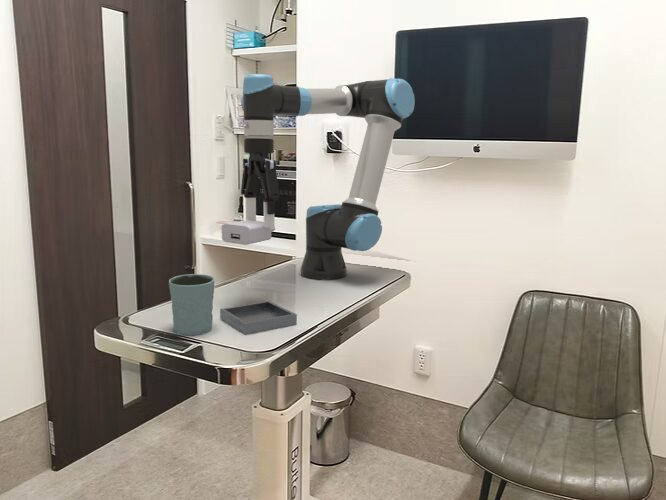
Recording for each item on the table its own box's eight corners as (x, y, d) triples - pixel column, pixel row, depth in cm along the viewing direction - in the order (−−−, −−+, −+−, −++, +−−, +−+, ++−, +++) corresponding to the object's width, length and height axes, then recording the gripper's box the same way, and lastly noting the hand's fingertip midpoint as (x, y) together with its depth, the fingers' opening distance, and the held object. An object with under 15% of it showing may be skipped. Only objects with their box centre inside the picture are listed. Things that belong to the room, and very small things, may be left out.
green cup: (207, 320, 135) (205, 272, 132) (222, 332, 126) (221, 281, 124) (165, 326, 129) (163, 277, 127) (178, 340, 121) (176, 286, 119)
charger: (285, 237, 150) (249, 245, 137) (258, 233, 155) (221, 241, 142) (285, 219, 149) (249, 226, 136) (258, 217, 154) (221, 223, 141)
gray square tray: (269, 310, 143) (269, 300, 143) (296, 324, 133) (296, 314, 132) (220, 318, 136) (220, 309, 135) (245, 334, 125) (245, 324, 124)
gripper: (226, 137, 148) (228, 220, 153) (266, 137, 131) (267, 231, 135) (252, 137, 153) (253, 218, 157) (293, 138, 135) (293, 228, 139)
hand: (259, 224), depth 146 cm, fingers closed on charger, 9 cm apart
